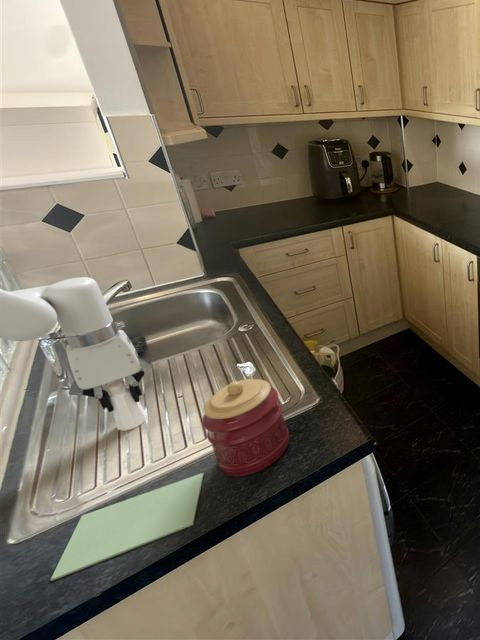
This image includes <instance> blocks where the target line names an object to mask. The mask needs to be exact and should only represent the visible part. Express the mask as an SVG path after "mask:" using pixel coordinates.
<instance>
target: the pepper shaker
mask: <svg viewBox="0 0 480 640" xmlns="http://www.w3.org/2000/svg"><path fill="white" fill-rule="evenodd" d="M107 390H108V392H109V393H110V394H109V396H110V397H109V400H110V403H111V405H112V407H113V411H112V414H113V417H114V421H115V424H116V428H117V431H123V432H126V431H130V430H132V429H136V428H138V427H140V426H141V425H142V424H144V423H145V422H146V421H147V420H148V413H147V412H146V411H145V409H144V407H143V405H142V403H141V402H140V401H139V402H135V401H134V399H133V396H132V394H131V392H130V390H129V388H127V386H126V383H125V381H124V380H116V381H113V382H112V383H109V385H108V386H107Z"/></svg>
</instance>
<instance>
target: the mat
mask: <svg viewBox="0 0 480 640" xmlns="http://www.w3.org/2000/svg"><path fill="white" fill-rule="evenodd" d="M204 476H205V472H201V473H198V474H196V475H193V476H192V475H191V476H190V477H186V478H184V479H182V480H178V481H176V482H173V483H170V484H168V485H164V486H160V487H159V488H155V489H153V490H150V491H147V492H145V493H141V494H138V495H136V496H133V497H131V498H128V499H124V500H122V501H119V502H116V503H113V504H109V505H108V506H104V507H102V508H99V509H96V510H93V511H90V512H88V513H85V514H83V515H81V516H80V518H79V521H78V522H77V524H76V527H75V528H74V531H73V533H72V535H71V537H70V539H69V540H68V542H67V545H66V547H65V548H64V551H63V553H62V555H61V557H60V559H59V561H58V563H57V565H56V567H55V569H54V572H53V574H52V576H51V577H50V581H51V582H53V581H56V580H57V579H60V578H63V577H66V576H68V575H71V574H73V573H75V572H78V571H81V570H83V569H86V568H88V567H91V566H93V565H96V564H98V563H101V562H104V561H106V560H108V559H111V558H113V557H117V556H119V555H122V554H125V553H126V552H129V551H131V550H134V549H136V548H140V547H141V546H144V545H147V544H149V543H151V542H154V541H157V540H159V539H162V538H164V537H166V536H170V535H172V534H175V533H177V532H179V531H182V530H184V529H187V528H190V527H192V526H194V524H195V519H196V513H197V510H198V504H199V499H200V494H201V489H202V485H203V481H204Z"/></svg>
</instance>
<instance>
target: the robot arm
mask: <svg viewBox="0 0 480 640" xmlns="http://www.w3.org/2000/svg"><path fill="white" fill-rule="evenodd" d="M57 323H58V325H59V327H60V329H61V331H62V333H63V336H64V338H65V340H66V341H67V343H68V344H67V345H66V346H65V350H66V356H67V360H68V364H69V367H70V370H71V372H72V376H73V381H72V382H71V385H70V386H69V389H68V395H70V396H85V397H90V398H94V399H95V400H98V401H99V403H100V405H101V407H102V409H103V410H104V409H107V411H108V413H113V407H112V405H111V403H110V400H109V397H110V394H109V393H110V392H109V390H108V391H107V390H105V389H104V388H103V385H107V384H108V383H109V384H110V383H111V382H112V383H113V382H116V381H119V380H120V379H123V378H124V379H125V380H126V382H127V383H128V389H129V390H130V392H131V394H132V396H133V399H134V401H135V402H139V403H140V397H141V396H143V392H142V390H141V387H140V385H139V382H141V380H142V378H143V377H144V376H145V375H146V374H147V373H148V372H149V371H150V370H151V369H152V368H153V363H152V362H151V361H150V360H149V361H148V360H147V359H145V358H143V357H141V356H140V355H138V352H137V350H136V348H135V346H134V345H133V342H132V341H131V339H130V338H129V336H128V335H127V333H126V332H125V331H124V330H123V328H125V327H126V323H125V321H124V320H122V321H116V320H115V319H114V318H113V317H112V314H111V312H110V308H109V307H108V305H107V302H106V300H105V298H104V295H103V293H102V291H101V288H100V286H99V284H98V282H97V281H96V280H95V279H94V278H92V277H88V276H80V277H72V278H67V279H62V280H60V281H56V282H54V283H53V284H52V283H51V284H49V285H43V286H36V287H30V288H23V289H22V288H21V289H17V290H11V291H7V290H4V289H1V288H0V339H2V340H8V341H13V342H29V341H33V340H36V339H39V338H42V337H44V336H46V335H47V334H49V333H50V332H51V331H52V330H53V329H54V328H55V327H56V324H57Z"/></svg>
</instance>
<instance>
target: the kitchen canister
mask: <svg viewBox="0 0 480 640" xmlns="http://www.w3.org/2000/svg"><path fill="white" fill-rule="evenodd" d="M278 400H279V393H278V391H277V390H276V389H275V388H274V387H271V383H269V382H268V381H267V380H265V379H258V378H257V379H256V378H254V379H253V378H247V379H242V380H234V381H231V382H230V383H229V384H227V385H225V386H224V387H223V386H222V388H220V389H219V390H217V391H216V392H215V393H214V394H213V395H212V396H211V397H210V398H209V399H208V400H207V401H206V402H205V404H204V407H203V416H202V420H201V425H202V427H203V428H204V429H205V430H206V431H207V432H206V439H207V440H208V442H209V443H210V444H211V448H212V450H213V453H214V455H215V461H216V463H217V466H218V468H219V469H220V470H221V471H222V472H223V474H225V475H226V476H229V477H236V478H237V477H245V476H250V475H253V474H256V473H259V472H260V471H262V470H264V469H266V468H267V467H269V466H271V465H273V464H274V463H275V462H276V461H278V460H279V458H281V456H283V454H284V453H285V452H286V450H288V449H287V448H288V447H289V445H290V444H289V443H290V431H289V428H288V426H287V423H286V420H285V418H284V415H283V414H284V413H283V406H282V404H281V403H280V402H279V401H278Z"/></svg>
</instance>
